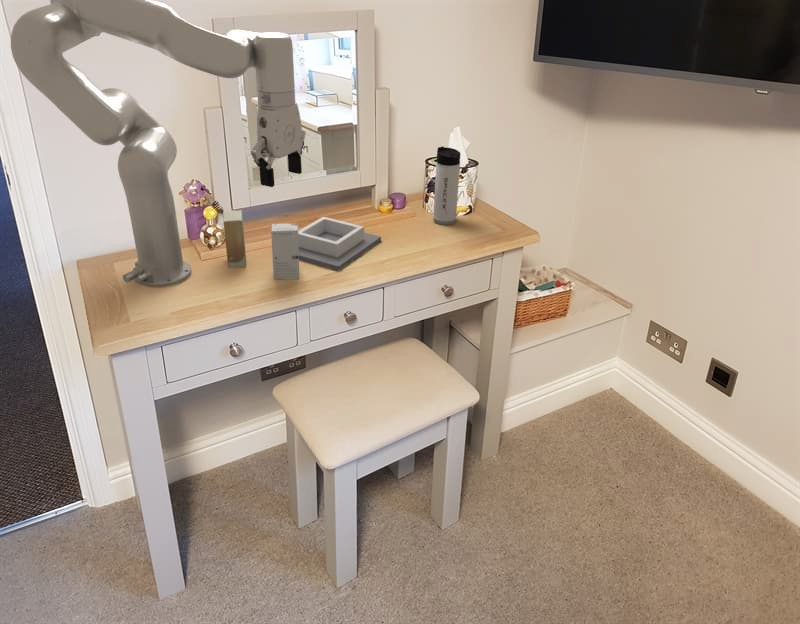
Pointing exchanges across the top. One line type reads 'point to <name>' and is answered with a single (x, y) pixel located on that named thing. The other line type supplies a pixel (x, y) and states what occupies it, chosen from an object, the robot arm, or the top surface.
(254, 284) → the top surface
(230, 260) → the skincare box
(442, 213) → the travel mug
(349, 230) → the duct collar
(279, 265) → the skincare box
